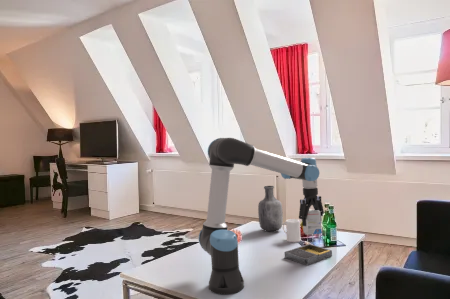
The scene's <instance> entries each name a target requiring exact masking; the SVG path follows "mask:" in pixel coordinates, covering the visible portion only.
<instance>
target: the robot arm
mask: <svg viewBox="0 0 450 299" xmlns="http://www.w3.org/2000/svg"><path fill="white" fill-rule="evenodd" d="M207 155H208V159H209V163H208V166H209V167H210V169H211V174H210V184H209V193H208V194H209V195H208V203H207V204H208V205H207V212H206V213H207V214H206V220H205V221H204V222H203V223H202V229H200V231H199V234H198V243H199V244H200V247H201V249H203V251H205V252H206V253H207V254H208V255H209V256H210V257H211V258H210V260H211V272H210V277H209V281H208V289H209V291H210V290H211V291H210V292H212V293H213V292H214V293H213V294H216V295H233V294H236V293H238V292H241V291H242V290H243V289H244V287H245V282H244V277H243V275H242V273H241V272H242V271H241V270H240V265H239V264H240V262H239V248H238V247H239V246H238V245H239V243H238V236H237V234H236V233H235V232H234V231H233V230H229V229H228V225H227V222H226V214H227V213H226V212H227V203H228V193H229V183H230V174H231V171H232V170H233V169H234V168H235V165H242V166H246V167H249V166H255V167H258V168H261V169H265V170H267V171H268V170H269V171H271V172H276V173H279V174H280V175H281V177H282V178H283V179H284V180H287V179H288V180H290V179H295V180H301V181H302V182H301V183H302V195H303V196H304V197H303V199H300V200H299V214H298V220H302V221H301V222H302V223H301V225H302V229H303V233H304V232H307V233H308V220H306V219H307V215H308V212H309V210H310V208H311V207H313V210H319V211H320V214H321V217H323V216H324V213H325V211H324V207H323V202H322V196H321V195H318V194H319V193H318V192H319V191H318V189H319V188H318V179H319V177H320V169H319V168H318V165H317V160H316V158H315V157H303V158H301V161H298V160H294V159H291V158H287V157H284V156H282V155H279V154H275V153H271V152H268V151H266V150H262V149H258V148H256V147H255V146H254V144H250V143H247V142H244V141H242V140H239V139H238V138H234V137H219V138H216V139H213V140H212V141H211V142H210V143H209V145H208V148H207Z"/></svg>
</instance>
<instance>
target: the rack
mask: <svg viewBox="0 0 450 299" xmlns="http://www.w3.org/2000/svg"><path fill="white" fill-rule="evenodd" d="M331 257H333V250H331V249H328V248H324V247H321V246H318V245H314V244H311V243H309V244H305V245H302V246H299V247H296V248H293V249H290V250H286V251H284V258H285V259H287V260H290V261H293V262H295V263H297V264H298V263H299V264H301V265H304V266H309V265H311V264H316V263H317V262H320V261H323V260H326V259H329V258H331Z"/></svg>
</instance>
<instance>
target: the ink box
mask: <svg viewBox="0 0 450 299" xmlns="http://www.w3.org/2000/svg"><path fill="white" fill-rule="evenodd" d="M306 220H308V233H307V232H303V233H304V235H321V234H322V233H323V232H322V231H323V230H322V216H321V214H320V211H319V210H315V209H309V212H308V215H307V219H306Z"/></svg>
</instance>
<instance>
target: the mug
mask: <svg viewBox="0 0 450 299" xmlns="http://www.w3.org/2000/svg"><path fill="white" fill-rule="evenodd" d="M300 220H301V219H299V218H289V219H286V220H285V221H284V222H283V224H282V230H283V232H284V233H285V234H286V241H287V242H289V243H299V242H301V241H302V238H301V225H300V224H301V223H300ZM285 225H286V229H285Z"/></svg>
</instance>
